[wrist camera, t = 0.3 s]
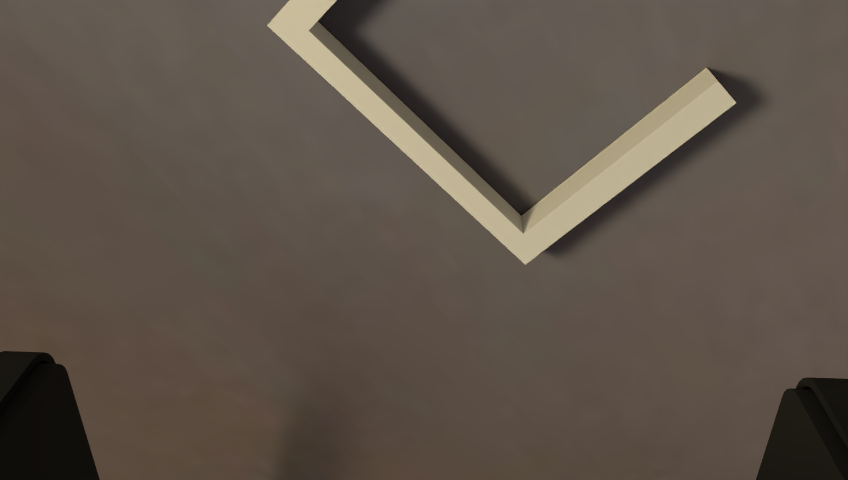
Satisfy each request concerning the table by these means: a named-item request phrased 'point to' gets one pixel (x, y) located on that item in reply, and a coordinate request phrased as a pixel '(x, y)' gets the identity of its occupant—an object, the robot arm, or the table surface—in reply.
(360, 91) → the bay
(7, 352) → the robot arm
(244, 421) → the table surface
